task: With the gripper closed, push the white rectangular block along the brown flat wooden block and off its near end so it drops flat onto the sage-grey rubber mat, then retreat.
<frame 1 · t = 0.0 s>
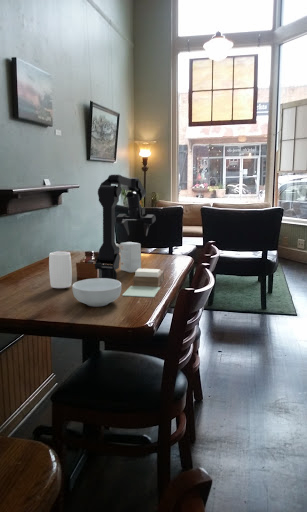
hand: (137, 235, 204), 15 cm above the table, tool pointing down, fingers open, 9 cm apart
mat: (141, 291, 162), on the table
cereal bowl: (97, 304, 147), on the table
brown flat wooden block: (149, 282, 175), on the table
small box: (130, 270, 200), on the table
white rectangular block: (147, 275, 172), point 4 cm above the table, touching brown flat wooden block
cup: (61, 289, 167), on the table
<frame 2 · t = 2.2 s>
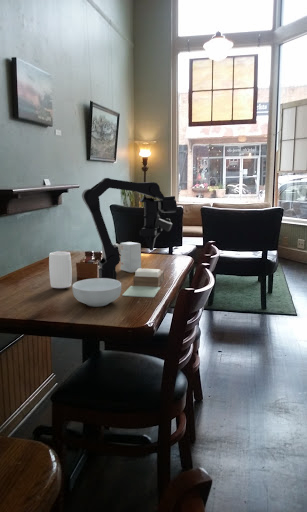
hand: (151, 250, 178), 13 cm above the table, tool pointing down, fingers closed
nothing on the table moved.
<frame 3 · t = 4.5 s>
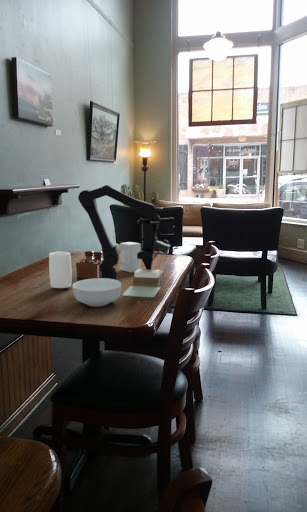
hand: (149, 272, 174), 5 cm above the table, tool pointing down, fingers closed
white rectangular block: (147, 275, 171), point 4 cm above the table, touching brown flat wooden block, gripper
everything else where it was.
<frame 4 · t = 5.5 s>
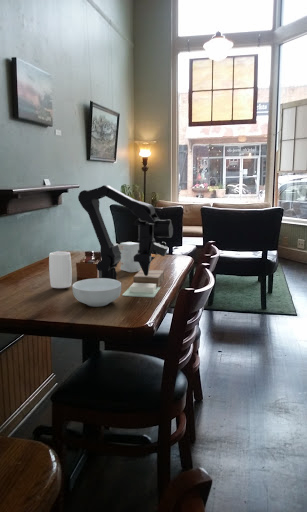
hand: (146, 275, 169), 5 cm above the table, tool pointing down, fingers closed
white rectangular block: (143, 285, 163), point 2 cm above the table, tilted 180°, touching mat
everything else where it was.
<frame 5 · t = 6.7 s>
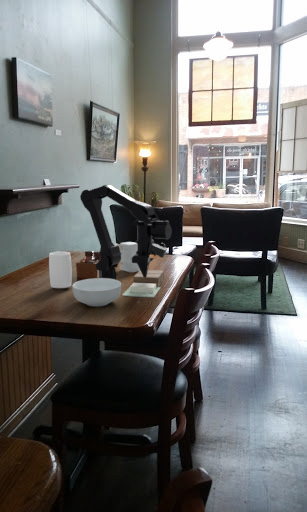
hand: (144, 277, 166), 4 cm above the table, tool pointing down, fingers closed
nothing on the table moved.
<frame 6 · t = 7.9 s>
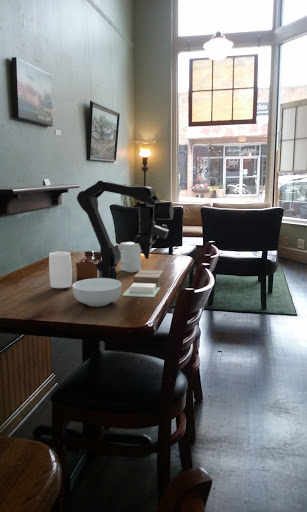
hand: (147, 258, 168), 11 cm above the table, tool pointing down, fingers closed
nothing on the table moved.
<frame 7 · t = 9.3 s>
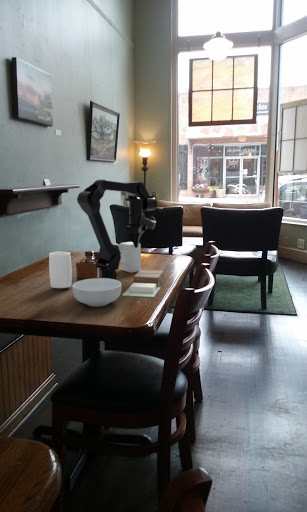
hand: (136, 247, 184), 13 cm above the table, tool pointing down, fingers closed
nothing on the table moved.
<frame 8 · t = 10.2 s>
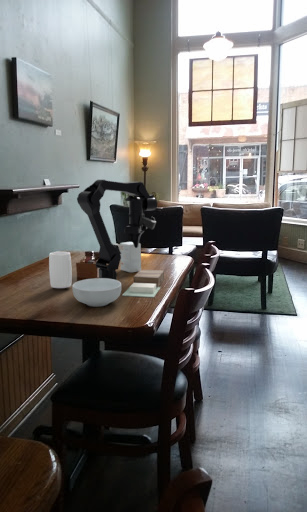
hand: (136, 247, 184), 13 cm above the table, tool pointing down, fingers closed
nothing on the table moved.
at the end: white rectangular block point 2.3 cm above the table; white rectangular block 1.2 cm from the mat (horizontally); white rectangular block touching mat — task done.
